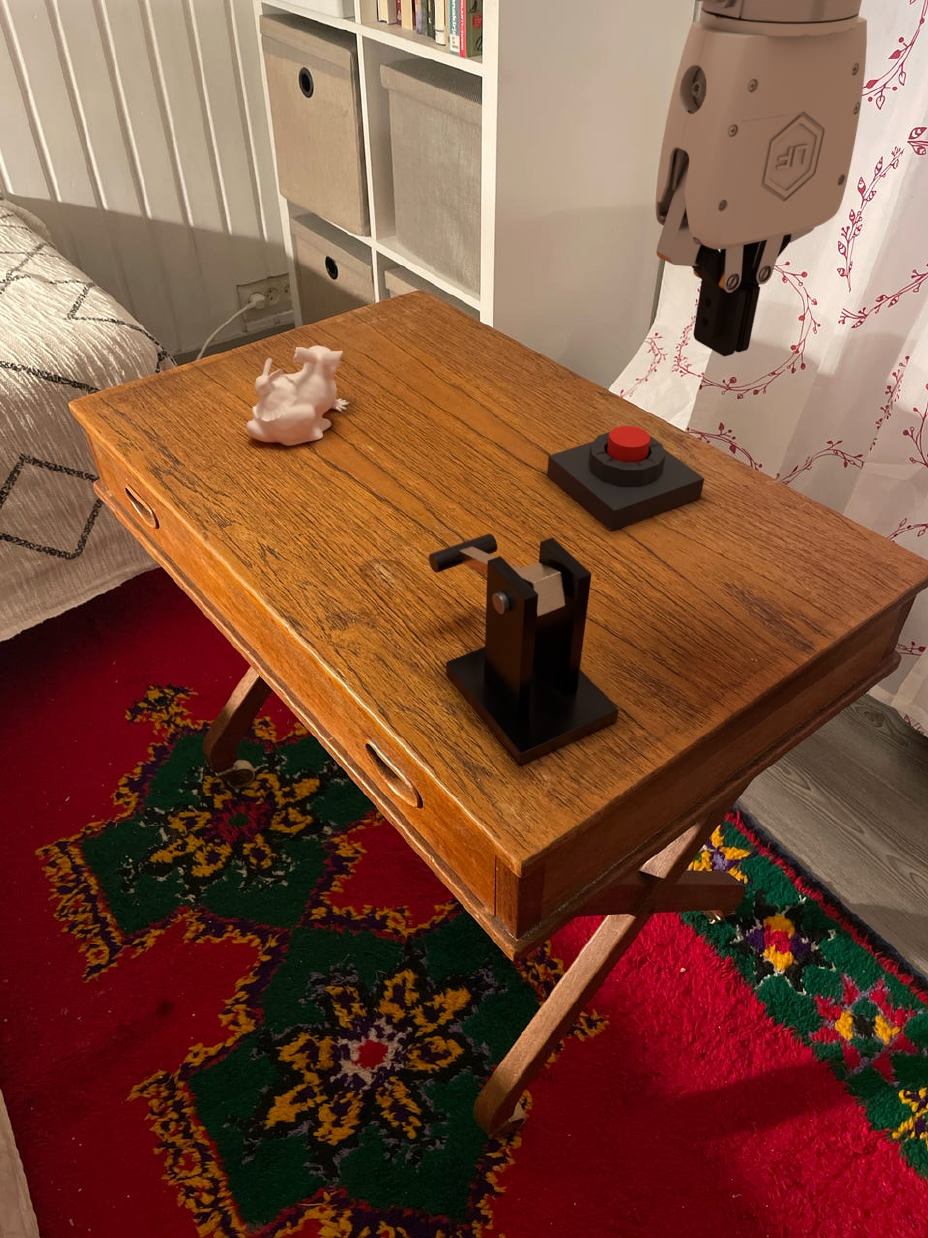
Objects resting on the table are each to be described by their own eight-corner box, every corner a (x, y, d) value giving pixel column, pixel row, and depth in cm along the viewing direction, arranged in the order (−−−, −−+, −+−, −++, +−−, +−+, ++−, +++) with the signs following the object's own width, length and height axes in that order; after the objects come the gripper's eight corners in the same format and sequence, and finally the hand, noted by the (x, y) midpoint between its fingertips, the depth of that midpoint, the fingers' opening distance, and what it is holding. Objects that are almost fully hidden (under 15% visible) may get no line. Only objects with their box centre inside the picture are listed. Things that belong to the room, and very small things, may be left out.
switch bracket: (445, 673, 70) (444, 544, 62) (537, 636, 73) (547, 508, 66) (520, 766, 64) (529, 634, 56) (617, 721, 67) (639, 590, 59)
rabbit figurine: (344, 399, 100) (337, 310, 94) (382, 431, 96) (377, 339, 89) (237, 433, 95) (222, 340, 89) (272, 468, 90) (258, 373, 84)
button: (630, 438, 88) (633, 421, 87) (655, 457, 86) (658, 440, 85) (598, 449, 87) (601, 432, 86) (623, 468, 84) (625, 450, 83)
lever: (431, 576, 70) (425, 545, 69) (490, 555, 72) (485, 525, 71) (518, 624, 60) (513, 590, 59) (584, 599, 62) (579, 564, 61)
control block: (632, 447, 94) (637, 410, 91) (700, 498, 87) (708, 460, 85) (546, 475, 90) (549, 438, 87) (611, 531, 83) (616, 492, 81)
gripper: (713, 14, 41) (659, 401, 53) (953, -16, 47) (855, 341, 59) (610, -10, 46) (582, 349, 58) (838, -35, 52) (769, 298, 64)
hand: (719, 344), depth 59 cm, fingers closed
